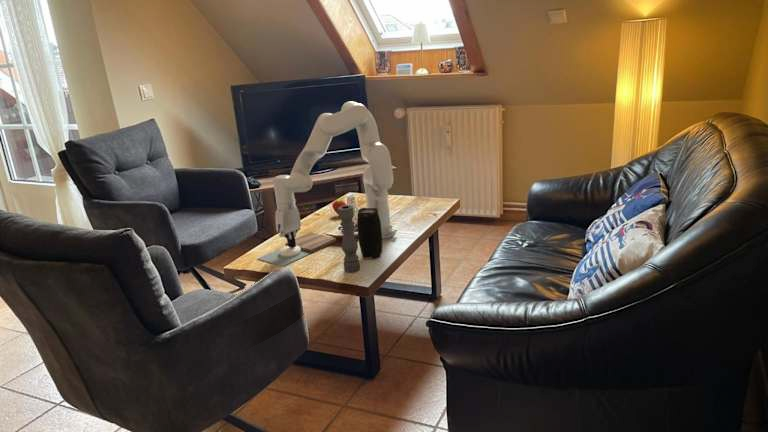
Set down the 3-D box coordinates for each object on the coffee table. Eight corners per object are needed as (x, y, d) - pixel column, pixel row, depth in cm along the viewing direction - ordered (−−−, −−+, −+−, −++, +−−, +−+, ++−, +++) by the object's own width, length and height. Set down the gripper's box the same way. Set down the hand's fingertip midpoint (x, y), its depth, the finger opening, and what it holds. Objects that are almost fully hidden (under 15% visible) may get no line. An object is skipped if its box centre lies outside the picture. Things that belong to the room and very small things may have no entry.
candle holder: (344, 267, 215) (336, 205, 207) (360, 265, 215) (353, 204, 207) (344, 273, 209) (337, 210, 201) (360, 272, 209) (354, 208, 201)
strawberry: (337, 213, 282) (335, 194, 279) (350, 214, 278) (347, 195, 275) (330, 217, 277) (328, 197, 274) (343, 218, 273) (341, 199, 270)
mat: (310, 254, 231) (310, 253, 231) (282, 266, 220) (282, 265, 220) (285, 247, 241) (284, 246, 241) (257, 259, 230) (257, 258, 230)
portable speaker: (358, 254, 226) (353, 208, 220) (380, 250, 228) (376, 205, 222) (363, 262, 218) (358, 214, 212) (386, 257, 220) (381, 211, 214)
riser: (336, 241, 242) (335, 238, 242) (311, 253, 232) (310, 249, 231) (310, 236, 252) (310, 232, 252) (285, 247, 242) (285, 243, 241)
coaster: (305, 251, 233) (304, 247, 233) (289, 258, 227) (288, 254, 226) (291, 247, 239) (290, 243, 238) (275, 254, 233) (274, 250, 232)
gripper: (293, 199, 236) (299, 239, 241) (266, 209, 225) (272, 251, 231) (305, 201, 231) (311, 242, 237) (278, 211, 220) (284, 254, 226)
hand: (292, 246), depth 234 cm, fingers closed
